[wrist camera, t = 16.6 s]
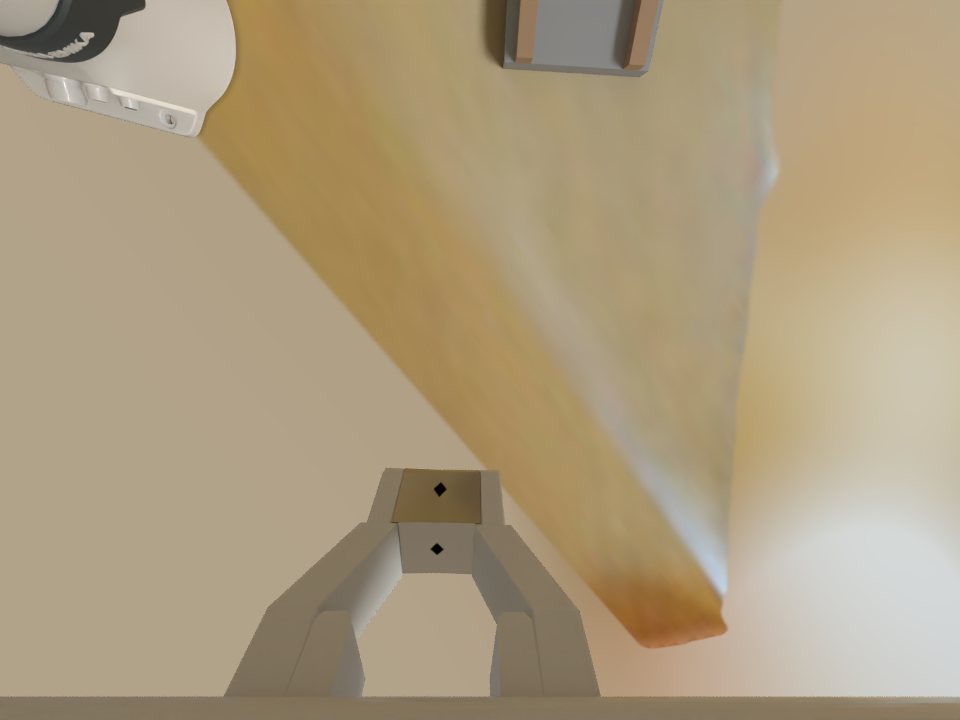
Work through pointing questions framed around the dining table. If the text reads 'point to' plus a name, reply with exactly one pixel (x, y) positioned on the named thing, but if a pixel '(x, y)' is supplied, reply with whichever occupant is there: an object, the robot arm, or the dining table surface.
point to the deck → (581, 36)
